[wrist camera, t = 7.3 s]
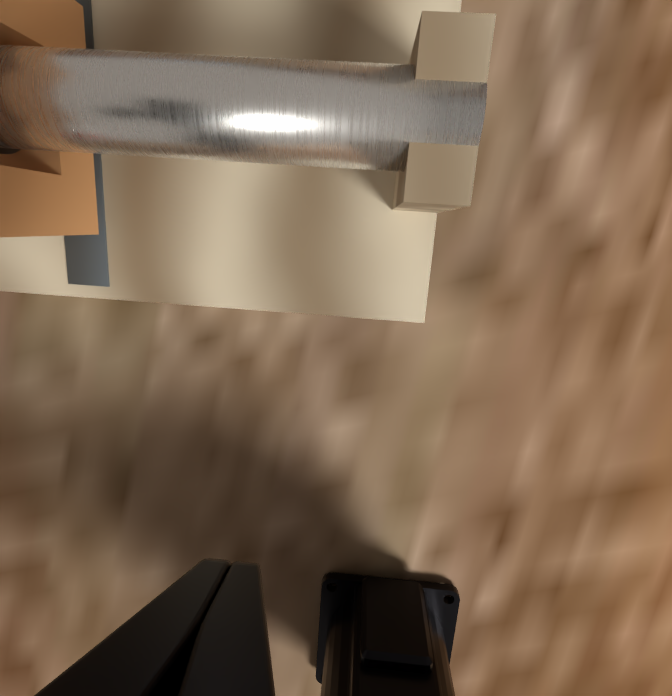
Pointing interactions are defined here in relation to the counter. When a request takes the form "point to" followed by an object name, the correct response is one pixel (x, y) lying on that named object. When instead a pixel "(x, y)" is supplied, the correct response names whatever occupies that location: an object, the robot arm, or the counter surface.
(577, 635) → the counter surface
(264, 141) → the pipe
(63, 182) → the slotted orange block
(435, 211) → the stand
